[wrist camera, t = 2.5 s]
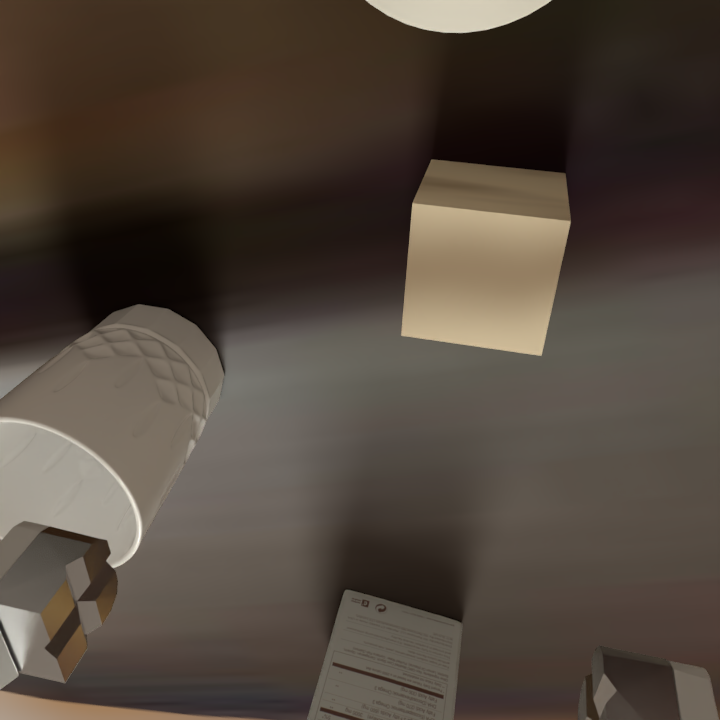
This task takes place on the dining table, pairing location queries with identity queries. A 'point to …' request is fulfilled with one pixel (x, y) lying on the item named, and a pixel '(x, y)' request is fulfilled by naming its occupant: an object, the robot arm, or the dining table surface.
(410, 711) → the supplement box
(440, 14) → the white rounded lump
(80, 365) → the white cup
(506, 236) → the beech block
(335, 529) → the dining table surface
